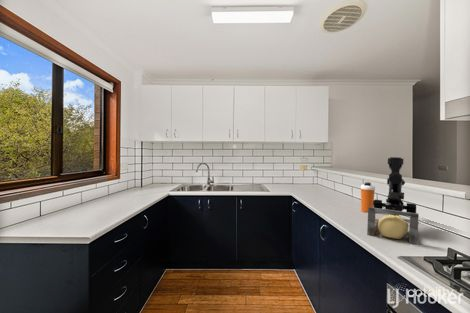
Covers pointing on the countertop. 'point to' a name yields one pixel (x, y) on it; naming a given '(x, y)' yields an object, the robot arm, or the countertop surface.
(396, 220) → the pale yellow round lump
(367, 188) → the shaker bottle
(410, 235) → the channel
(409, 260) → the countertop surface
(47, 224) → the countertop surface
